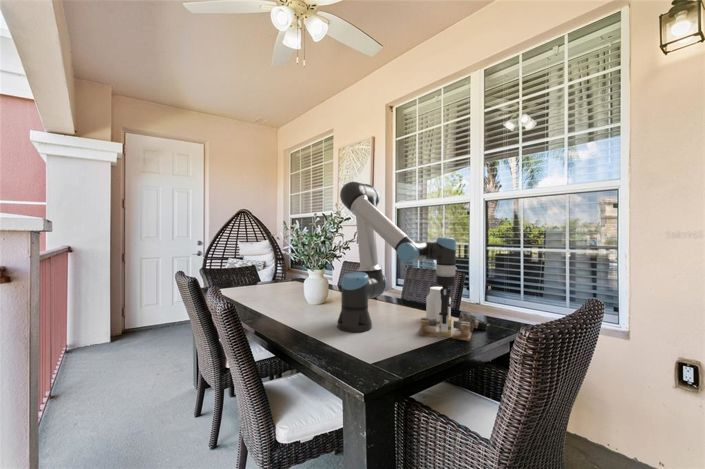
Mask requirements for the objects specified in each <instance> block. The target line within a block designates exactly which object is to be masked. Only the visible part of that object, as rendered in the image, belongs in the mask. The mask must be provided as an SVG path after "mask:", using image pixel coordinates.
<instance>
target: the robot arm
mask: <svg viewBox="0 0 705 469" xmlns="http://www.w3.org/2000/svg"><path fill="white" fill-rule="evenodd" d="M339 198H340V200H341V203H342V204H343V206H344V207H346V208H347V210H349V211H350V212H351V213H352V214H353V215H354V216H355V219H356V220H355V221H356V231H357V232H356V235H357V244H358V245H357V247H358V255H359V257H358V258H359V267H358V268H357V270H356V271H354V272H348V273H345V274H344V275H343V276H342V278H341V283H340V286H341V307H340V308H341V310H340V313H339V316H338V319H337V325H336V326H337V329H338V330H340V331H343V332H348V333H361V332H367V331H369V330H371V329H372V326H373V322H372V319H371V316H370V312H369V300H371V299H374V298H375V299H376V298H378V297H380V296H381V295H383V294H384V293H385V292H386V290H387V288H388V280H387V277H386V276H385V274H384V273H383V269H382V267H381V266H380V265H379V261H378V247H377V237H376V235H377V234H378V235H379V236H380V238H382V239H383V241H385V242H386V243H387V244H388V245H389V246H390V247H391V248H393V250H394V251H396V254H397V258H398V259H399V260H400V261H402V262H404V263H413V262H416V261H422V260H426V261H427V260H430V261H431V260H432V261H436V265H435V266H436V267H435V269H436V276H435V278H436V282H435V284H436V285H438V286H441V287H442V288H441V290H440V293H441V313H439V315H441V331H442V332H448V317H449V307H451V308H452V304H449V300H450V298H451V291H452V290H451V288H450V287H453V286H455V285H456V276H455V275H456V271H457V270H458V268H457V267H456V259H457V258H456V257H457V245H456V244H457V243H456V239H455V238H453V237H437V238H436V241H419V240H418V241H417V240H416V241H413V239H411V238H410V237H409V236H408V235H407V234H406V233H405V232H403V230H401V229H400V228H399V227H398V226H397V225H396V224H395V223H394V222H393V221H391V220H390V219H389V218H388V217H387V216H386V215H385V214H384V213H383V212H381V210H379V209H378V208H377V206H378V205H379V203H380V198H381V197H380V193H379V191H378V189H377V188H376V187H374V186H372V185H371V184H368V183H362V182H358V181H349V182H346V183H345V184H344V185H343V186H342V188H341V189H340V191H339Z"/></svg>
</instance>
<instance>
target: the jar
mask: <svg viewBox="0 0 705 469" xmlns="http://www.w3.org/2000/svg"><path fill="white" fill-rule="evenodd" d="M442 287H443V286H431V287H429V293H428V294H427V295H426V298H425V299H426V300H425V301H426V302H425V303H426V305H425V306H426V310H425V314H426V315H425V318H429V319H436V323H440V316H441V315H439V313H441V293H440V290H441V288H442ZM451 303H452V298H451V297H450V300H449V304H451ZM451 305H452V304H451ZM451 308H452V306H451V307H449V317H451V318H452V315H451V314H452V313H451V312H452V310H451Z"/></svg>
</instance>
